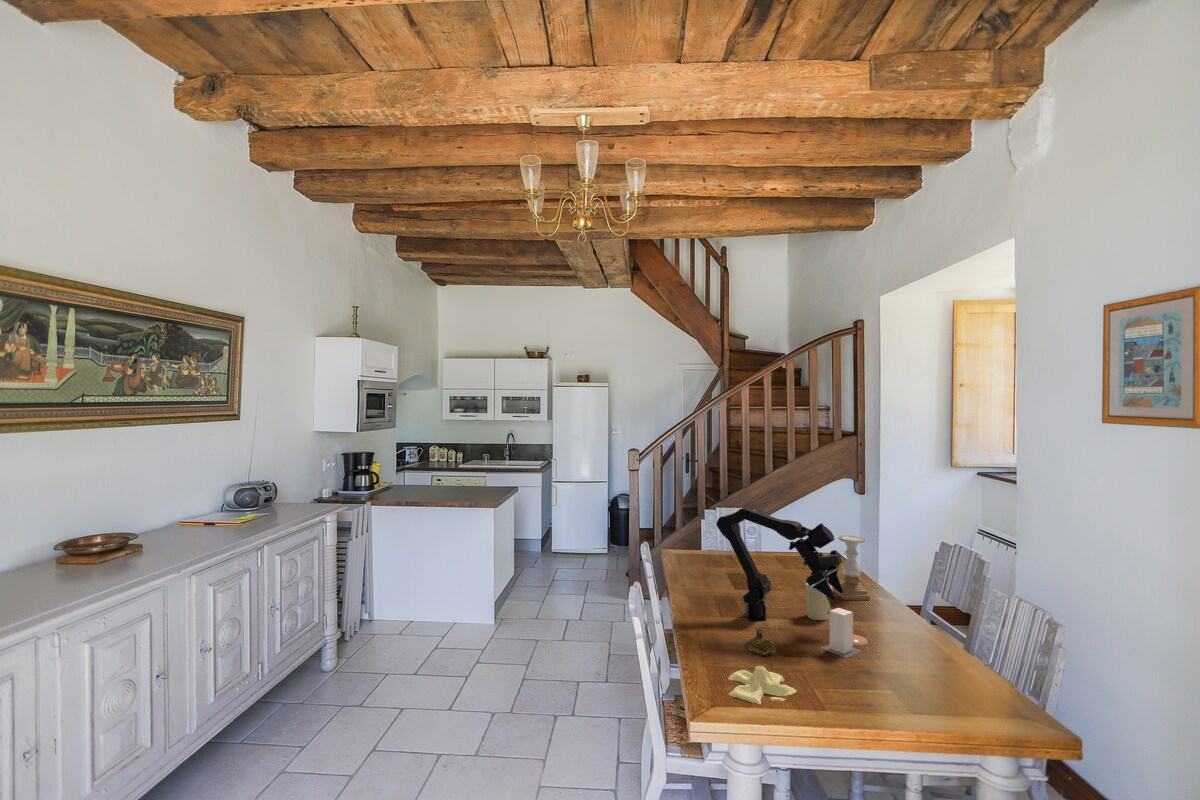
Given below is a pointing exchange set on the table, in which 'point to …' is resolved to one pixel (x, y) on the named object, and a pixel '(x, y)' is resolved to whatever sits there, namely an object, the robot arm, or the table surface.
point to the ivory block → (841, 630)
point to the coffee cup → (817, 604)
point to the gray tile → (841, 653)
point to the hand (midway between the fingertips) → (838, 596)
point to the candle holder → (852, 571)
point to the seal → (761, 645)
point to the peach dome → (859, 640)
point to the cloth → (759, 685)
